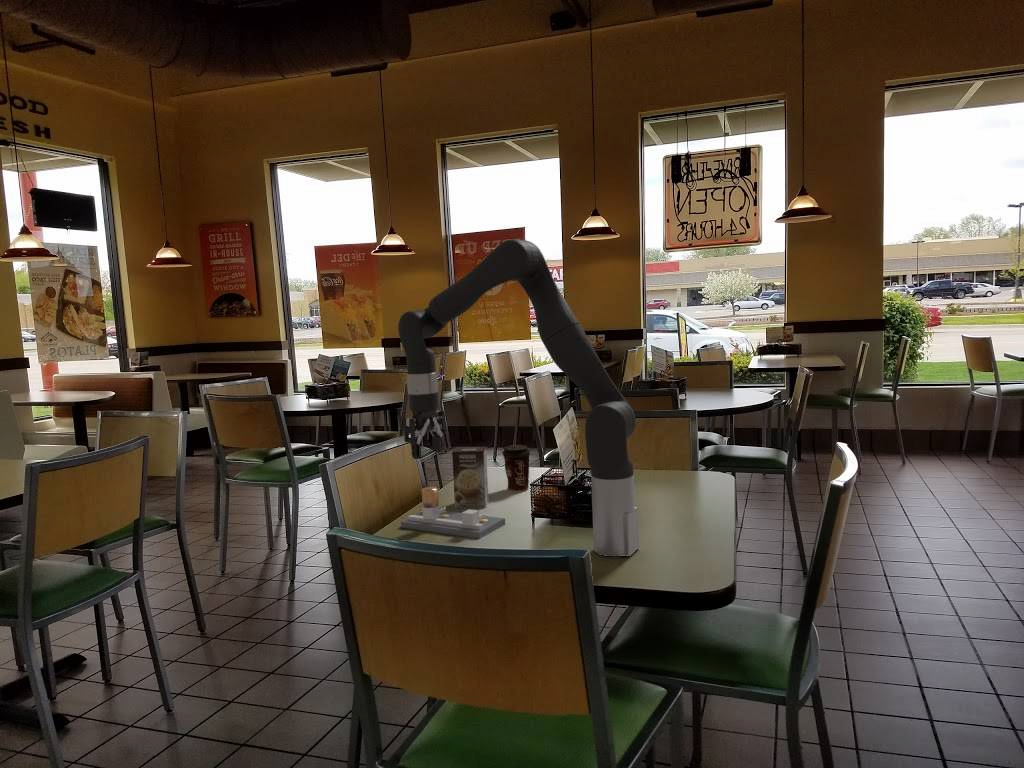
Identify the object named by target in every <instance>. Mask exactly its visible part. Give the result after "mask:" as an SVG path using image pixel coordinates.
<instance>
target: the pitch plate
mask: <svg viewBox="0 0 1024 768" xmlns="http://www.w3.org/2000/svg"><path fill="white" fill-rule="evenodd" d="M479 511H480V510H475V509H467V510H465V511H463V512H457V511H449V510H446V513H441V514H440V516H439V517H437V518H435V519H433V520H432V519H425V518H423V511H421V512H419V513H417V514H411V515H408V516H407V518H406V519H404V520H401V521H400V527H401V528H404V529H409V530H411V529H412V530H417V531H423V532H425V531H426V532H431V533H438V534H445V533H446V535H452V534H453V536H458V537H459V536H460V537H467V538H474V539H481V538H484V537H486V536H487V535H488V534H490V533H492V532H494V531H496V530H498V529H499V528H501V527H503V526H505V525H506V518H505V517H496V516H488V515H486V514H485V513H484V512H483V513H480V512H479Z"/></svg>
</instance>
